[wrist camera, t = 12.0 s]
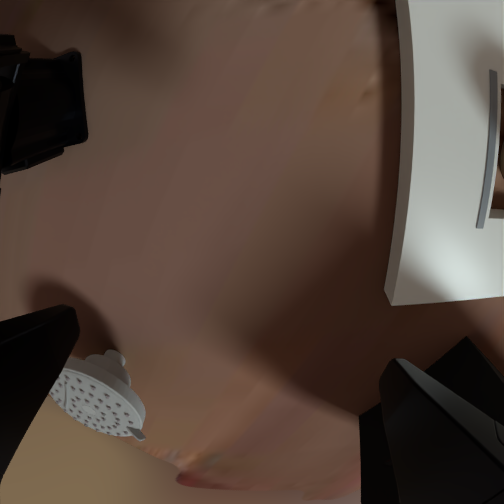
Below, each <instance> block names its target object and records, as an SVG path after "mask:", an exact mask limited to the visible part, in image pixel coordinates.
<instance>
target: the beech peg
mask: <svg viewBox="0 0 504 504" xmlns="http://www.w3.org/2000/svg"><path fill="white" fill-rule="evenodd" d="M500 168H501V173H502V176H503V178H504V142H503V144H502V148H501V152H500Z"/></svg>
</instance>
